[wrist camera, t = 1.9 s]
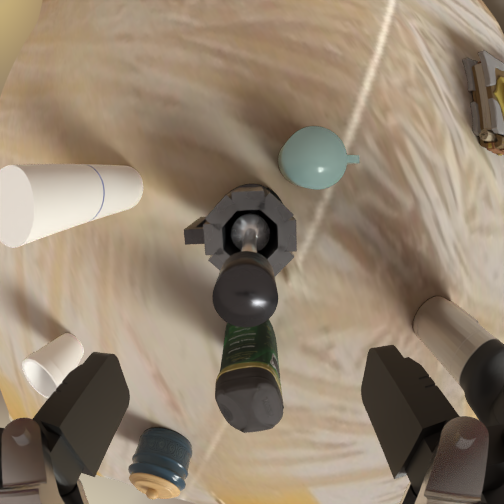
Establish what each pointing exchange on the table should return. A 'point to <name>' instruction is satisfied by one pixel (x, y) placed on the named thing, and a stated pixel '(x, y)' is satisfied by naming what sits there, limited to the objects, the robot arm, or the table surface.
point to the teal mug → (314, 158)
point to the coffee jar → (250, 378)
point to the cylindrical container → (61, 197)
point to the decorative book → (487, 100)
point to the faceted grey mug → (229, 210)
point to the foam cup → (52, 363)
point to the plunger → (246, 277)
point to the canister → (160, 463)
